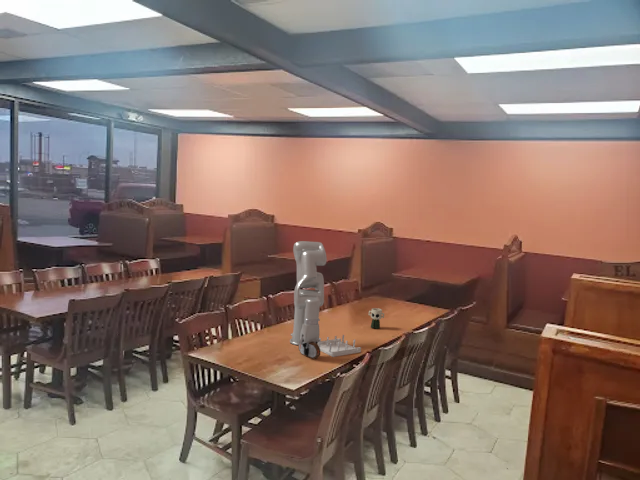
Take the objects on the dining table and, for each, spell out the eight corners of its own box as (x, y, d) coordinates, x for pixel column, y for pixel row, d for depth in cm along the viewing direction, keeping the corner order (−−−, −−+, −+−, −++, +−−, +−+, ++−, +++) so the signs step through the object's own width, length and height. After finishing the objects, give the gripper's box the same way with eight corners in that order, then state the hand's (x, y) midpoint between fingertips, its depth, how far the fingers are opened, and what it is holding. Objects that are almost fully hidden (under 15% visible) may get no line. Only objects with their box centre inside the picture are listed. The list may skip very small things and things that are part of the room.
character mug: (365, 327, 349) (367, 309, 348) (369, 325, 356) (370, 307, 354) (381, 330, 345) (383, 311, 344) (384, 328, 352) (386, 309, 350)
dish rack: (312, 346, 298) (313, 336, 297) (339, 342, 310) (340, 332, 310) (332, 356, 283) (333, 345, 282) (360, 352, 295) (361, 341, 295)
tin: (320, 359, 276) (321, 344, 276) (315, 360, 274) (317, 345, 274) (301, 352, 287) (302, 337, 286) (296, 353, 285) (298, 338, 284)
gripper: (319, 318, 287) (316, 350, 289) (294, 321, 277) (292, 354, 279) (327, 321, 281) (324, 354, 283) (303, 324, 271) (300, 358, 273)
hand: (308, 354), depth 281 cm, fingers closed on tin, 3 cm apart
